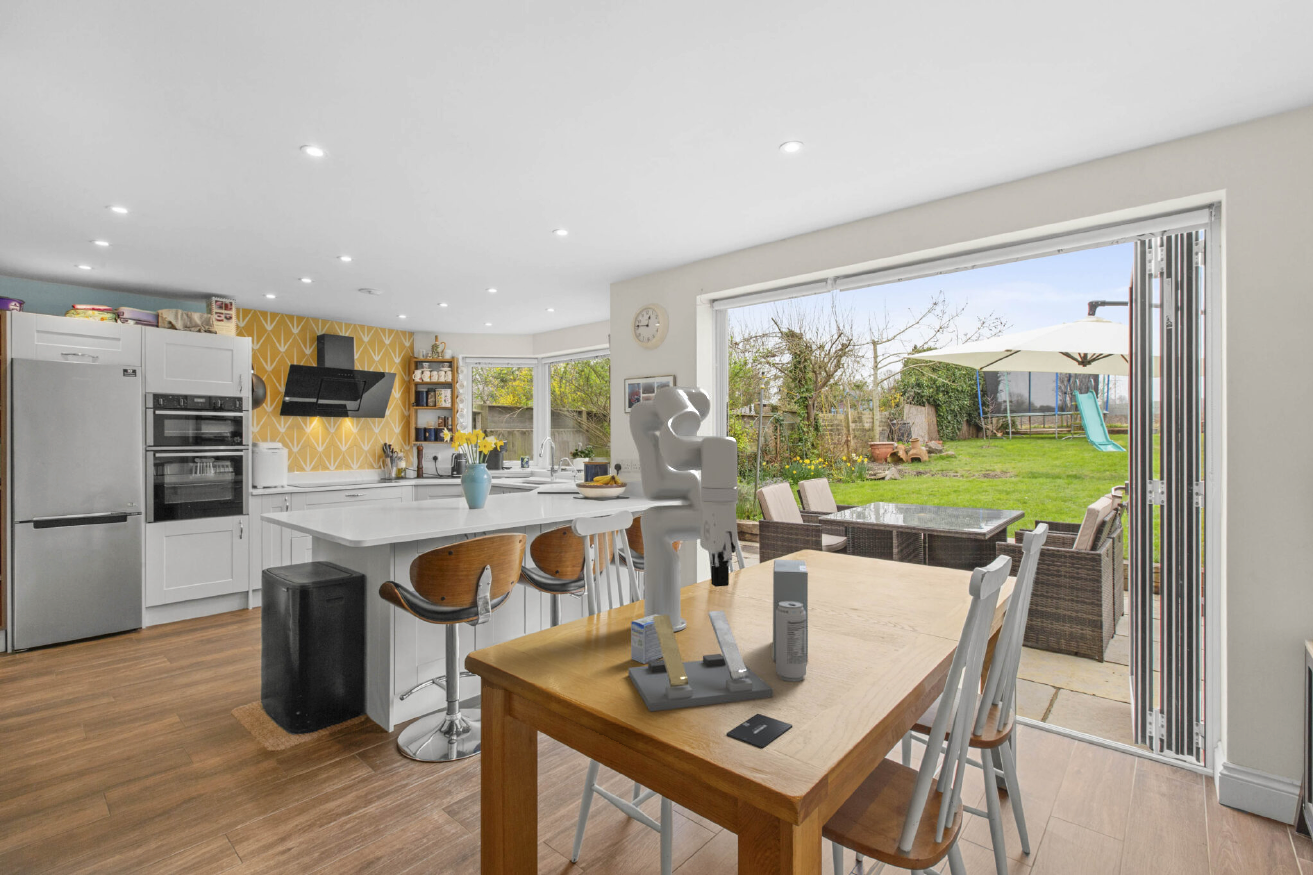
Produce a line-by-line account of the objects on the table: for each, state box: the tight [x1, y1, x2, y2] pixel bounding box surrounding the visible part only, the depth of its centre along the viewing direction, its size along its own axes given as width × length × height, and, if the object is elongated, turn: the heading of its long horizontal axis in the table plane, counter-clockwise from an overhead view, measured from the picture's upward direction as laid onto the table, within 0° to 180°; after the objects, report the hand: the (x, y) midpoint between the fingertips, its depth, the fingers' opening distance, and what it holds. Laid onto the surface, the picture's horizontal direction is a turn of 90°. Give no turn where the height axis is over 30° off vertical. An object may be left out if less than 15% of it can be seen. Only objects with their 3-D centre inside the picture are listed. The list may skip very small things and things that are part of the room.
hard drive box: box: [772, 559, 809, 664], centre depth 141 cm, size 16×8×20 cm, turn 168°
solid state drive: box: [726, 713, 793, 749], centre depth 103 cm, size 7×10×1 cm
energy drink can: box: [775, 601, 807, 683], centre depth 126 cm, size 6×6×15 cm
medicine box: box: [630, 614, 663, 665], centre depth 138 cm, size 8×4×9 cm, turn 135°
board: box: [628, 653, 774, 713], centre depth 122 cm, size 18×24×3 cm
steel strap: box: [708, 609, 749, 680], centre depth 122 cm, size 16×3×2 cm
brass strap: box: [653, 615, 688, 687], centre depth 119 cm, size 16×3×2 cm
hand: (720, 585), depth 126 cm, fingers closed
